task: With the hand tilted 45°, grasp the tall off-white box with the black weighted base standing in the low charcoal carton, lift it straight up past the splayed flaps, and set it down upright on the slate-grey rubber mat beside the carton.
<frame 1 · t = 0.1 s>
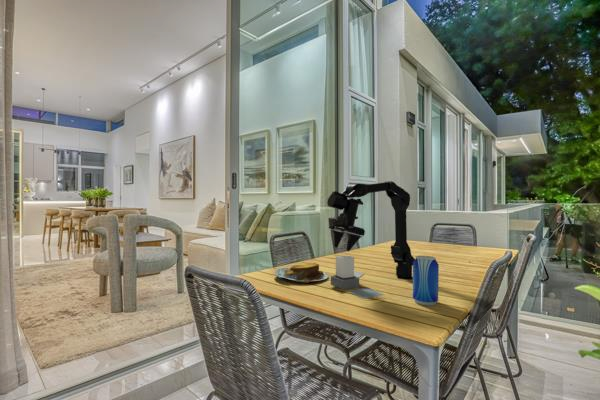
hand: (341, 249, 131), 15 cm above the table, tool pointing down, fingers open, 9 cm apart
rubber mat: (365, 293, 121), on the table
food on plate: (300, 278, 144), on the table
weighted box: (344, 285, 131), resting on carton
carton: (344, 286, 131), on the table
beer can: (425, 302, 112), on the table
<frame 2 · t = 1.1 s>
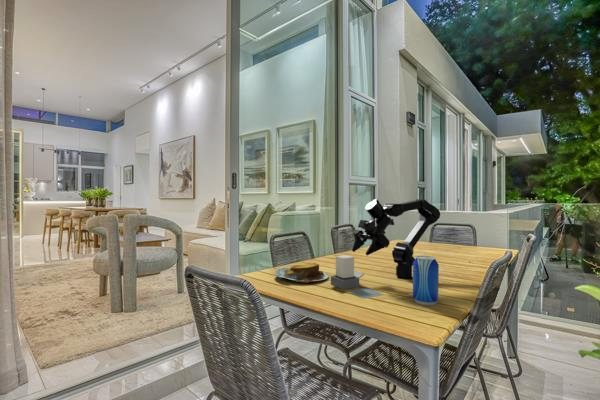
hand: (359, 252, 134), 13 cm above the table, tool tilted 45°, fingers open, 9 cm apart
nothing on the table moved.
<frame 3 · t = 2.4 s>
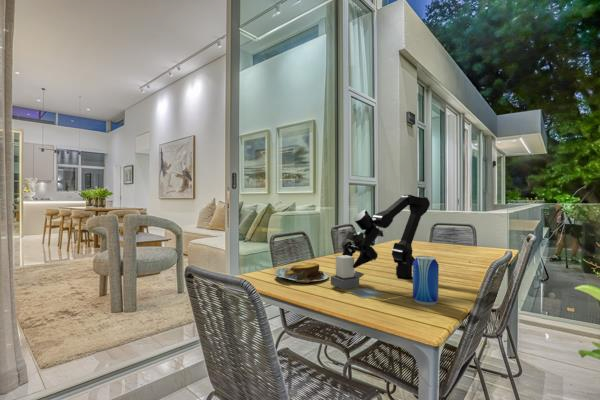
hand: (346, 265, 131), 9 cm above the table, tool tilted 45°, fingers open, 9 cm apart
nothing on the table moved.
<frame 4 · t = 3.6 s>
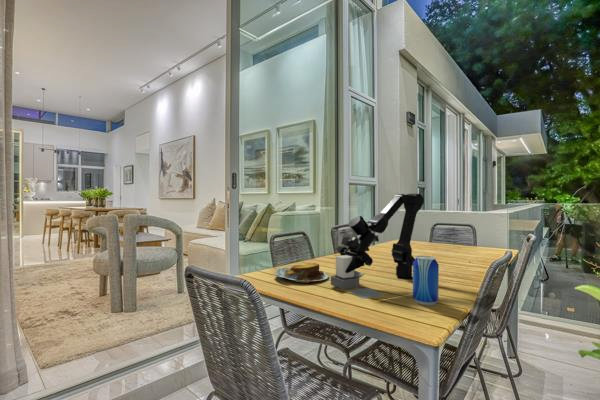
hand: (342, 271, 130), 7 cm above the table, tool tilted 45°, fingers closed on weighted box, 5 cm apart
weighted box: (344, 285, 131), resting on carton, touching gripper
everything else where it was.
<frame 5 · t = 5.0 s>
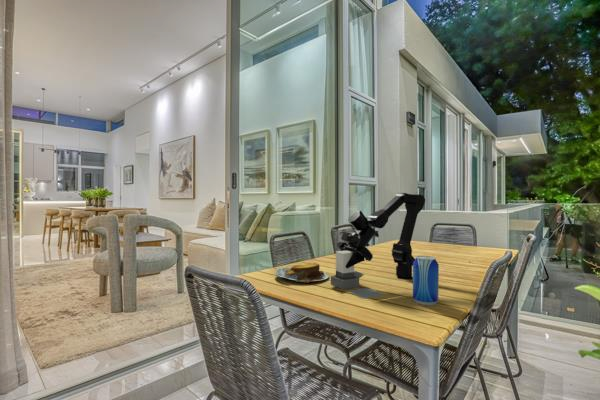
hand: (342, 266, 130), 9 cm above the table, tool tilted 45°, fingers closed on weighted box, 5 cm apart
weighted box: (344, 280, 131), point 2 cm above the table, touching gripper
everything else where it was.
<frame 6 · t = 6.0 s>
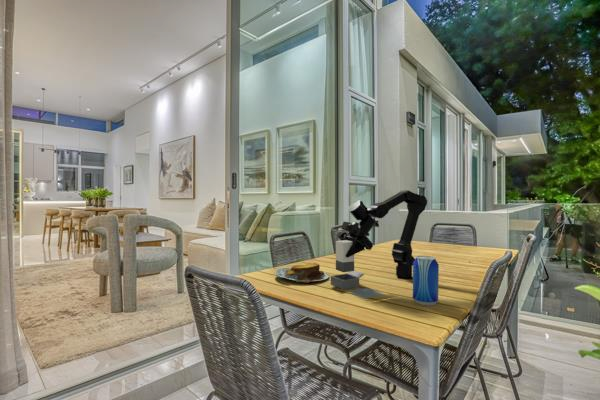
hand: (342, 255, 130), 13 cm above the table, tool tilted 45°, fingers closed on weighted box, 5 cm apart
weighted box: (344, 270, 131), point 7 cm above the table, touching gripper
everything else where it was.
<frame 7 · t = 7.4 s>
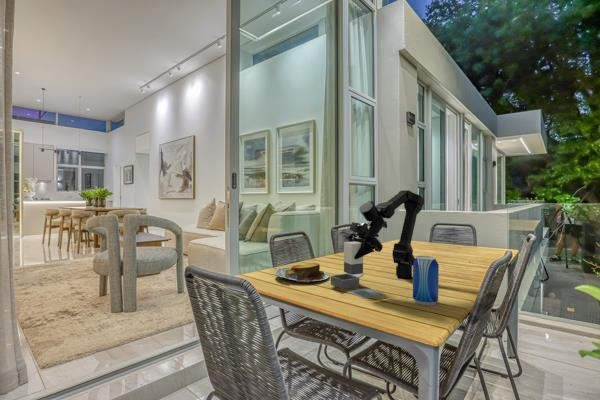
hand: (350, 257, 126), 13 cm above the table, tool tilted 45°, fingers closed on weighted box, 5 cm apart
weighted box: (353, 272, 126), point 7 cm above the table, touching gripper
everything else where it was.
when the fingers open (8 cm above the table, at t = 10.6 s): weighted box drops 1 cm, resting on rubber mat.
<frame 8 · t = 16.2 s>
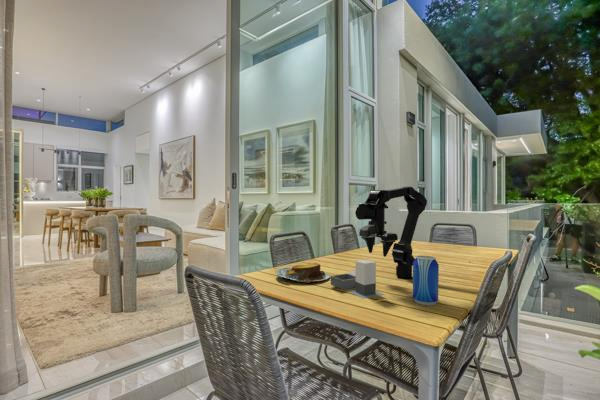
hand: (377, 254, 137), 12 cm above the table, tool pointing down, fingers open, 9 cm apart
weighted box: (365, 292, 121), resting on rubber mat
everything else where it was.
at the end: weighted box 0.1 cm off-centre on the rubber mat, point 0.4 cm above the rubber mat's base; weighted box tilted 0°; the gripper is holding nothing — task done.
